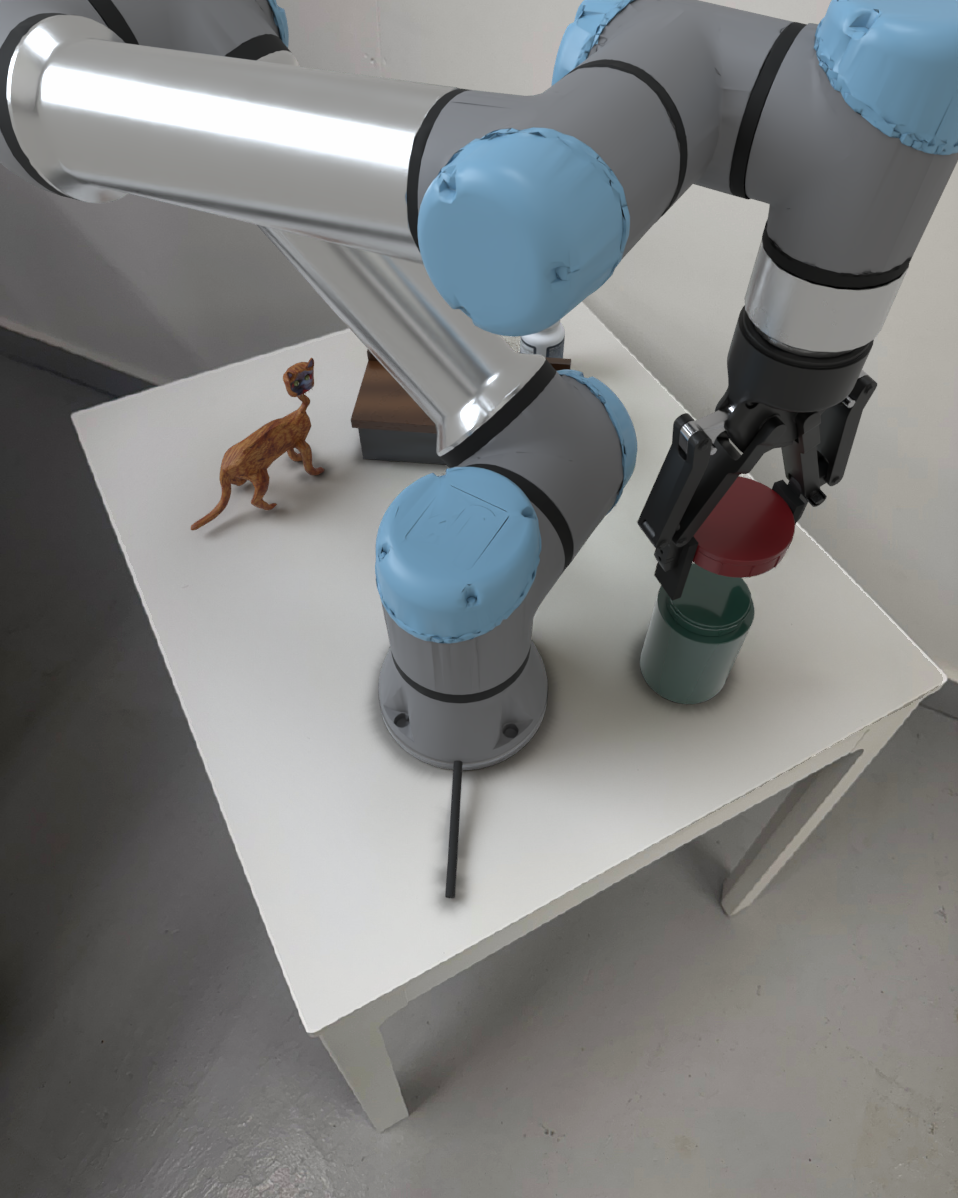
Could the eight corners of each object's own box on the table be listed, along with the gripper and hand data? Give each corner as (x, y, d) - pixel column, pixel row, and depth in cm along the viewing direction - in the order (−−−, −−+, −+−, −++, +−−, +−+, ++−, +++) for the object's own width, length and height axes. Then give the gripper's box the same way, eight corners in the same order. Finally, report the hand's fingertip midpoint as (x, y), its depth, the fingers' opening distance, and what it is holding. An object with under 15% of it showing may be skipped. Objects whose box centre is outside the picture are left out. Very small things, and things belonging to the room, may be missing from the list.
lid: (652, 511, 63) (656, 494, 61) (744, 479, 65) (751, 462, 63) (713, 593, 58) (719, 576, 57) (810, 555, 60) (819, 538, 59)
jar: (729, 708, 74) (764, 638, 65) (639, 700, 75) (661, 629, 65) (723, 634, 79) (755, 559, 69) (639, 627, 79) (659, 551, 70)
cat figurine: (211, 554, 85) (170, 458, 74) (177, 520, 88) (132, 422, 77) (347, 467, 92) (328, 367, 81) (311, 438, 95) (288, 338, 84)
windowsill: (561, 476, 91) (566, 425, 85) (357, 461, 93) (348, 410, 87) (566, 410, 98) (571, 358, 92) (375, 397, 99) (368, 346, 93)
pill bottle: (562, 360, 103) (568, 298, 96) (560, 387, 100) (566, 325, 93) (520, 358, 104) (522, 295, 96) (517, 385, 100) (519, 322, 93)
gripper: (911, 242, 51) (798, 495, 69) (611, 328, 46) (575, 576, 64) (1002, 308, 47) (856, 558, 65) (683, 411, 42) (623, 650, 60)
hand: (717, 567), depth 65 cm, fingers closed on lid, 8 cm apart
